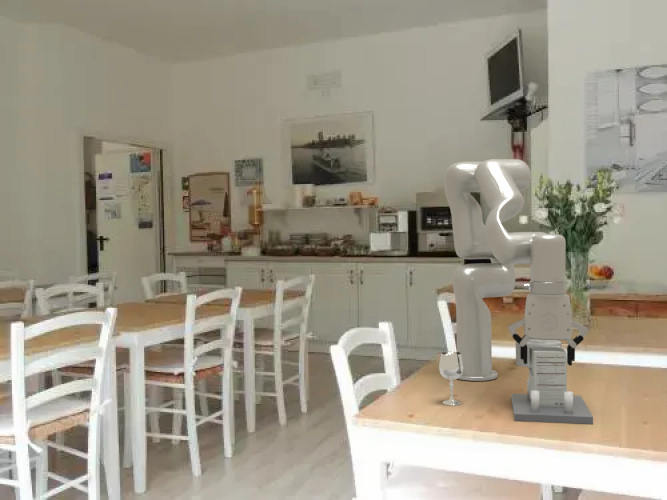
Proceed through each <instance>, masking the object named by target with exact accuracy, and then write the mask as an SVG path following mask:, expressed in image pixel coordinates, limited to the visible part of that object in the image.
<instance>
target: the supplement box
mask: <svg viewBox="0 0 667 500" xmlns="http://www.w3.org/2000/svg"><path fill="white" fill-rule="evenodd" d="M567 368H568V363H567V350H565V349H563V348H561V347H560V346H529V367H528V378H529V398H530V399H531V390H538V391H539V406H540V407H564V392H565V391H568V369H567Z"/></svg>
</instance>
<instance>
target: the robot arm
mask: <svg viewBox="0 0 667 500" xmlns="http://www.w3.org/2000/svg"><path fill="white" fill-rule="evenodd" d="M531 181H532V173H531V169H530V167H529V166H528V164H527V163H526V162H525V161H523V160H522V159H518V158H517V159H516V158H513V159H512V158H511V159H510V158H507V159H505V158H492V159H486V160H483V161H460V162H455V163H452V164H451V165H449V166H448V167H447V169H446V170H445V172H444V178H443V189H444V195H445V197H446V200H447V203H448V207H449V209H450V214H451V224H452V235H453V245H454V251H455V253H456V256H457V257H459V258H461V259H464V260H490V262H491V263H489V262H488V263H483V262H482V263H467V264H461V265H459V266H458V267H456V269H454V271H453V272H452V278H451V281H452V282H451V283H452V289H453V293H454V299H455V316H456V317H455V319H456V321H455V323H456V352H460V353H461V355H462V359H463V366H464V370H463V374H462V375H461V377H459V378H457V379H458V380H462V381H470V382H471V381H473V382H485V381H492V380H495V379H496V378H498V377H499V376H498V374H499V373H498V372H497V371H496V370H494V369H493V367H492V365H493V363H492V359H493V357H492V315H491V311H490V309H489V307H488V305H487V304H486V303H485V301H484V298H499V297H507V296H509V295H511V294H512V293H513V292H514V290H515V287H516V286H515V285H516V275H515V265H530V269H529V270H530V271H529V272H530V273H529V274H530V275H529V276H530V278H529V279H530V280H529V281H528V282H527V283H526V282H525V283H523V289H524V290H527V291H529V293H528V294H527V295H526V299H525V308H524V317H523V318H522V319H520V320H517V321H515V322H513V323H511V324H508V326H507V330H508V331H509V333H510V335H511V337H512V338H513V340H514V341H515V343H516V342H517V343H518V344H519V345H520V359H523V362H524V364H526V363H527V345H526V343H527V342H528V341H529V340H530V339H535V340H559V341H566V342H567V343H568V345H567V346H566V353H567V366H570V367H571V366H573V362H575V361H576V348H577V346H578V345H580V343H582V342H583V341H584V338H585V337H586V336H587V334H588V333H589V328H587V326H584V325H583V324H581V323H579V322H577V321H575V320H573V319H572V309H571V308H572V307H571V300H570V296H569V294H566V247H567V246H566V245H567V244H566V238H565V236H564V235H562V234H557V233H547V232H544V231H517V232H515V231H513V232H508V230H507V229H506V228H505V227H504V225H503V224H502V223H504V222H506V221H508V220H510V219H513V218H514V217H516V216H517V215H518V214H519V213H520V212H521V211H522V210H523V207H524V204H525V199H524V196H523V195H522V192H524V191H525V190H526V189H528V188H529V186H530V184H531ZM471 193H481V194H482V196H483V199H485V202H486V204H487V207H488V209H490V210H489V213H488V215H487V217H486V220H485V224H484V221H483V210H482V207H481V205H480V203H478V201H477V200H476V199H475V197H474V196H473V195H472V194H471ZM521 327H523V331H524V334H523V335H522V336H520V335H519V334H518V333H517V331H516V330H518V329H519V328H521ZM573 328H574V329H576V330H577V331H579V332H578V334H577V335H576V336H575V337H574V338H572V334H573ZM457 379H456V380H457Z"/></svg>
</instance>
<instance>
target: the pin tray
mask: <svg viewBox="0 0 667 500" xmlns="http://www.w3.org/2000/svg"><path fill="white" fill-rule="evenodd" d="M526 385H527V386H526V389H527V390H526V391H527V393H511V395H510V400H511V405H512V413H513V419H514V421H515V422H529V423H530V422H536V423H557V424H560V423H561V424H578V425H579V424H583V425H586V424H587V425H594V417H593V415H592V412H591V411H590V409H589V407H588V406H587V404H586V403H585V400H584V399H583V397H582V396H581V395H576V394H575V395H574V392H573V391H570V390H567V391H565V392H564V407H540V406H539V391H538V390H531V399H530V398H529V377H527V379H526Z"/></svg>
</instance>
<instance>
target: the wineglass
mask: <svg viewBox="0 0 667 500" xmlns="http://www.w3.org/2000/svg"><path fill="white" fill-rule="evenodd" d="M440 353H441V354H440V357H439V363H438V369H439V373H440V375H441V377H443V378H444V379H446V380H449V388H450V398H449V399H446V400H443V401H442V404H443V405H446V406H460V405H461V404H462V402H461V401H460V400H456V399H455V398H454V394H453V393H454V392H453V391H454V384H455V382H454V380H457V378H459V377H461V375H462V374H463V370H464V366H463V359H462V355H461V353H460V352H457V351H450V350H449V351H442V352H440Z"/></svg>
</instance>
